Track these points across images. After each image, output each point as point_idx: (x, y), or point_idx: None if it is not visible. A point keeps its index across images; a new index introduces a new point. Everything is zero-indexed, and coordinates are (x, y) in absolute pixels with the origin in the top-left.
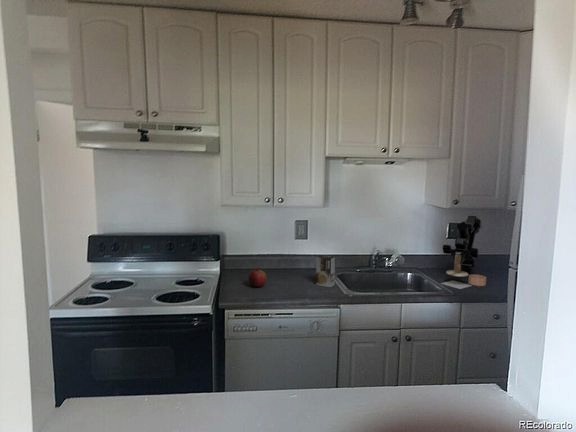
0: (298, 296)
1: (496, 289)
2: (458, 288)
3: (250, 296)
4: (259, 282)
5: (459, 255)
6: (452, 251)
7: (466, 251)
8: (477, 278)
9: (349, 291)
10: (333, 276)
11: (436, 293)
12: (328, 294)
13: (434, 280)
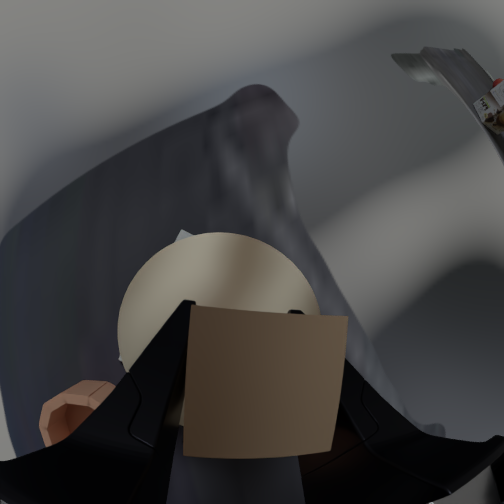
0: (454, 60)
1: (12, 354)
2: (191, 234)
3: (470, 61)
4: (494, 82)
5: (240, 406)
6: (448, 442)
7: (2, 479)
8: (75, 394)
9: (446, 85)
10: (491, 105)
11: (287, 110)
12: (446, 68)
13: (350, 357)
